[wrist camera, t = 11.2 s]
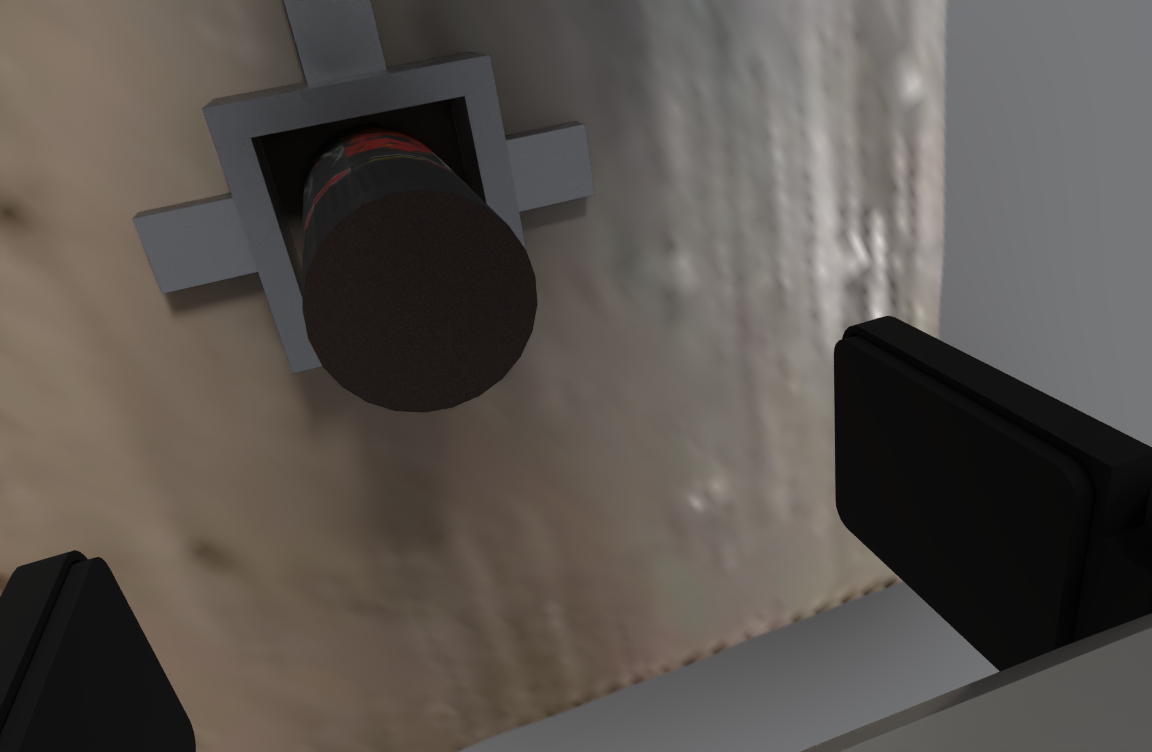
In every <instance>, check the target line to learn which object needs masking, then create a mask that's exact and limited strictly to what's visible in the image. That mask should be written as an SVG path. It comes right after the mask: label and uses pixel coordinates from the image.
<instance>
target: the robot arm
mask: <svg viewBox="0 0 1152 752" xmlns="http://www.w3.org/2000/svg"><path fill="white" fill-rule="evenodd" d="M834 400H835V486H836V507H837V511H838V514H839V516H840V519H841V520H842V522H843V524H844V525H845V526H846V527H847V529H848V530H849V531H850V532H852V533H853V534H854V535H855V536H856V537H857V538H858V539H859V540H860V541H861V542H862V543H863V544H864V545H865V546H866V547H868V548H869V549H870V550H871V551H872V552H873V553H874V554H875V555H876V556H877V557H878V558H879V559H880V560H881V561H882V562H884V563H885V564H886V565H887V566H888V567H889V568H890V569H891V570H892V571H893V572H894V573H895V574H896V575H897V576H899V577H900V578H901V579H902V580H903V581H904V582H905V583H906V584H907V585H908V586H909V587H910V588H911V589H912V590H913V591H915V592H916V593H917V594H918V595H919V596H920V597H921V598H922V599H923V600H924V601H925V602H926V603H928V605H929V606H931V607H932V608H933V609H934V610H935V611H936V612H937V613H938V614H939V615H941V617H942V618H943V619H944V620H945V621H947V622H948V623H949V624H950V625H951V626H952V627H953V628H954V629H955V630H956V631H957V632H958V633H959V634H960V635H962V636H963V637H964V638H965V639H966V640H967V641H968V642H969V643H970V644H971V645H972V646H973V647H974V648H975V649H976V650H978V651H979V652H980V653H981V654H982V655H983V656H984V657H985V658H986V659H987V660H988V661H989V662H990V663H991V664H993V665H994V666H995V667H996V668H997V669H998V670H999V671H1000V672H998V673H996V674H993V675H991V676H988V677H986V678H983V679H981V680H978V681H976V682H973V683H970V684H968V685H965V686H963V687H960V688H958V689H955V690H953V691H950V692H948V693H945V694H943V695H940V696H938V697H935V698H933V699H930V700H928V701H925V702H923V703H920V704H918V705H915V706H913V707H910V708H908V709H905V710H903V711H900V712H898V713H895V714H893V715H890V716H888V717H885V718H883V719H880V720H878V721H875V722H873V723H870V724H868V725H865V726H862V727H860V728H857V729H855V730H853V731H850V732H848V733H845V734H843V735H840V736H838V737H835V738H833V739H830V740H828V741H825V742H823V743H820V744H818V745H815V746H813V747H810V748H808V749H805V750H803V751H801V752H1152V447H1150V446H1148V445H1146V444H1144V443H1142V442H1140V441H1138V440H1136V439H1134V438H1132V437H1130V436H1128V435H1126V434H1124V433H1122V432H1120V431H1118V430H1116V429H1114V428H1112V427H1111V426H1109V425H1107V424H1105V423H1103V422H1100V421H1098V420H1097V419H1095V418H1092V417H1091V416H1089V415H1087V414H1085V413H1083V412H1081V411H1079V410H1077V409H1075V408H1073V407H1071V406H1069V405H1067V404H1065V403H1063V402H1061V401H1059V400H1057V399H1055V398H1053V397H1051V396H1049V395H1047V394H1045V393H1043V392H1041V391H1039V390H1037V389H1035V388H1033V387H1031V386H1029V385H1027V384H1025V383H1023V382H1021V381H1019V380H1017V379H1016V378H1014V377H1012V376H1010V375H1008V374H1005V373H1003V372H1002V371H1000V370H998V369H996V368H994V367H992V366H990V365H988V364H986V363H984V362H982V361H980V360H978V359H976V358H974V357H972V356H970V355H968V354H966V353H964V352H962V351H960V350H958V349H956V348H954V347H952V346H950V345H948V344H946V343H944V342H942V341H940V340H938V339H936V338H934V337H932V336H930V335H928V334H926V333H925V332H923V331H921V330H919V329H917V328H915V327H913V326H911V325H909V324H907V323H905V322H903V321H901V320H899V319H897V318H895V317H891V316H885V317H881V318H877V319H874V320H871V321H867V322H864V323H860V324H857V325H853V326H850V327H848V328H847V329H846V330H845V332H844V335H843V338H842V340H839V341H838V342H837V343H836V346H835V348H834ZM0 752H196V744H195V736H194V731H193V728H192V725H191V722H190V720H189V718H188V716H187V714H186V712H185V710H184V708H183V706H182V705H181V703H180V701H179V699H178V697H177V695H176V693H175V691H174V689H173V688H172V686H171V684H170V682H169V680H168V678H167V676H166V674H165V672H164V670H163V669H162V667H161V665H160V663H159V661H158V659H157V657H156V655H155V653H154V651H153V650H152V648H151V646H150V644H149V642H148V640H147V638H146V636H145V634H144V632H143V631H142V629H141V627H140V625H139V623H138V621H137V619H136V617H135V615H134V613H133V612H132V610H131V608H130V606H129V604H128V602H127V600H126V598H125V596H124V595H123V593H122V591H121V589H120V587H119V585H118V583H117V581H116V579H115V577H114V576H113V574H112V572H111V570H110V568H109V566H108V565H107V563H106V562H105V561H104V560H103V559H102V558H99V557H96V558H92V559H89V560H88V559H87V558H86V557H85V556H84V555H83V554H82V553H81V552H79V551H76V550H74V551H71V552H67V553H64V554H60V555H57V556H53V557H50V558H46V559H43V560H39V561H36V562H32V563H29V564H26V565H22V566H20V567H17V568H16V570H15V571H14V572H13V574H12V575H11V577H10V579H9V581H8V583H7V585H6V587H5V589H4V591H3V593H2V595H1V597H0Z"/></svg>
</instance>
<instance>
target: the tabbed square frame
mask: <svg viewBox="0 0 1152 752" xmlns="http://www.w3.org/2000/svg"><path fill="white" fill-rule="evenodd" d="M284 3H285V7H286V10H287V14H288V17H289V21H290V24H291V28H292V31H293V35H294V38H295V42H296V46H297V49H298V53H299V56H300V60H301V63H302V67H303V70H304V74H305V77H306V81H307V82H304V83H299V84H293V85H288V86H282V87H277V88H271V89H266V90H261V91H255V92H250V93H244V94H239V95H233V96H228V97H223V98H217V99H213V100H212V101H211V102H210V103H208V104H207V105H206V106H205V107H203V108H202V110H203V113H204V116H205V118H206V121H207V124H208V127H209V130H210V133H211V136H212V139H213V142H214V145H215V148H216V151H217V154H218V156H219V159H220V162H221V165H222V168H223V171H224V174H225V177H226V180H227V183H228V186H229V189H230V192H231V193H229V194H225V195H220V196H215V197H210V198H205V199H201V200H196V201H191V202H186V203H181V204H177V205H172V206H167V207H162V208H157V209H153V210H148V211H143V212H138V213H137V214H136V215H135V217H134V218H133V222H134V224H135V227H136V229H137V232H138V234H139V237H140V239H141V242H142V244H143V247H144V249H145V252H146V254H147V257H148V259H149V262H150V264H151V267H152V269H153V272H154V274H155V277H156V279H157V282H158V284H159V287H160V289H161V292H162V294H163V293H168V292H172V291H176V290H181V289H185V288H189V287H194V286H198V285H202V284H207V283H211V282H216V281H220V280H224V279H229V278H233V277H237V276H242V275H246V274H250V273H255V272H258V273H259V276H260V279H261V282H262V285H263V288H264V291H265V294H266V297H267V300H268V303H269V306H270V308H271V311H272V314H273V317H274V320H275V323H276V326H277V329H278V332H279V335H280V338H281V341H282V344H283V346H284V349H285V352H286V355H287V358H288V361H289V364H290V367H291V370H292V373H297V372H301V371H305V370H309V369H313V368H317V367H321V366H322V365H321V363H320V361H319V359H318V357H317V355H316V353H315V351H314V349H313V347H312V345H311V344H310V342H309V340H308V336H307V331H306V326H305V320H304V315H303V310H302V279H303V271H302V268H301V265H300V261H299V258H298V255H297V252H296V249H295V246H294V242H293V239H292V236H291V233H290V230H289V227H288V224H287V220H286V217H285V214H284V211H283V208H282V205H281V201H280V198H279V195H278V192H277V189H276V186H275V182H274V179H273V176H272V173H271V170H270V167H269V163H268V160H267V157H266V154H265V151H264V148H263V145H262V141H261V138H260V136H262V135H267V134H272V133H277V132H283V131H288V130H293V129H298V128H303V127H308V126H313V125H318V124H324V123H329V122H334V121H339V120H344V119H349V118H354V117H359V116H364V115H370V114H375V113H380V112H385V111H390V110H395V109H400V108H405V107H410V106H416V105H421V104H426V103H431V102H436V101H441V100H446V99H450V103H451V108H452V112H453V117H454V122H455V127H456V131H457V136H458V141H459V146H460V150H461V155H462V160H463V164H464V169H465V174H466V179H467V183H468V186H469V187H470V188H471V189H472V190H473V191H474V192H475V193H476V194H477V195H478V196H479V197H480V198H481V199H482V200H483V201H484V202H485V203H486V204H487V205H488V206H489V207H490V208H491V209H492V210H493V211H494V212H495V213H497V214H498V215H499V216H500V217H501V218H502V219H503V220H504V221H505V222H506V223H507V224H508V225H509V226H510V228H511V229H512V231H513V232H514V234H515V235H516V236H517V238H518V239H519V241H520V242H521V243H522V245H523V246H524V248H525V249H526V246H525V241H524V235H523V230H522V224H521V219H520V214H519V212H521V211H525V210H530V209H534V208H538V207H543V206H547V205H551V204H556V203H560V202H564V201H569V200H573V199H577V198H582V197H586V196H591V195H595V193H594V186H593V179H592V172H591V165H590V158H589V151H588V144H587V137H586V130H585V124H583V123H580V122H577V121H575V122H570V123H566V124H561V125H556V126H551V127H546V128H542V129H537V130H532V131H527V132H522V133H518V134H513V135H508V136H505V133H504V128H503V122H502V117H501V112H500V106H499V101H498V95H497V90H496V85H495V79H494V74H493V69H492V63H491V58H490V55H487V54H480V53H473V52H467V53H461V54H456V55H451V56H445V57H440V58H434V59H429V60H423V61H418V62H413V63H407V64H402V65H396V66H391V67H386V64H385V60H384V56H383V52H382V47H381V43H380V39H379V35H378V31H377V27H376V22H375V18H374V14H373V10H372V6H371V2H370V0H284ZM526 252H527V251H526ZM536 311H538V310H537V309H536Z"/></svg>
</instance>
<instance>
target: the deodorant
mask: <svg viewBox="0 0 1152 752" xmlns="http://www.w3.org/2000/svg"><path fill="white" fill-rule="evenodd" d="M536 309H537V292H536V280H535V274H534V271H533V269H532V266H531V263H530V260H529V257H528V254H527V252H526V249H525V248H524V246H523V245H522V243H521V242H520V241H519V239H518V238H517V236H516V235H515V234H514V232H513V231H512V229H511V228H510V226H509V225H508V224H507V223H506V222H505V221H504V220H503V219H502V218H501V217H500V216H499V215H498V214H497V213H495V212H494V211H493V210H492V209H491V208H490V207H489V206H488V205H487V204H486V203H485V202H484V201H483V200H482V199H481V198H480V197H479V196H478V195H477V194H476V193H475V192H474V191H473V190H472V189H471V188H470V187H469V186H468V185H467V184H466V183H465V182H464V181H463V180H462V179H461V178H460V177H458V176H457V175H456V174H455V173H454V172H453V171H452V170H451V169H450V168H449V167H448V166H447V165H446V164H445V163H444V162H443V161H442V160H441V159H440V158H439V157H438V156H437V155H436V154H435V153H434V152H433V151H432V150H431V149H430V148H429V147H428V146H426V145H425V144H424V143H423V142H421V141H420V140H419V139H418V138H417V137H415V136H414V135H413V134H410V133H408V132H406V131H404V130H402V129H400V128H398V127H395V126H390V125H384V124H378V123H372V124H361V125H355V126H352V127H350V128H347V129H345V130H342V131H339V132H338V133H336V134H335V135H334V136H332V137H331V138H330V139H328V140H327V141H325V142H324V143H323V144H322V145H321V147H320V148H319V149H318V151H317V152H316V153H315V155H314V156H313V157H312V158H311V161H310V163H309V166H308V169H307V171H306V174H305V177H304V188H303V279H302V310H303V315H304V320H305V326H306V331H307V336H308V340H309V342H310V344H311V345H312V347H313V349H314V351H315V353H316V355H317V357H318V359H319V361H320V363H321V365H322V366H323V367H324V368H325V369H326V370H327V371H328V372H329V373H330V374H331V376H332V377H333V378H334V379H335V380H336V381H337V382H338V383H339V384H340V385H341V386H342V387H343V388H345V389H347V390H348V391H350V392H352V393H353V394H355V395H356V396H358V397H360V398H361V399H363V400H365V401H366V402H368V403H372V404H375V405H378V406H381V407H385V408H388V409H391V410H394V411H408V412H430V411H435V410H441V409H446V408H452V407H455V406H457V405H459V404H462V403H464V402H466V401H469V400H471V399H473V398H476V397H478V396H480V395H481V394H483V393H484V392H485V391H487V390H488V389H489V388H491V387H492V386H493V385H495V384H496V383H497V382H499V381H500V380H501V379H502V378H503V377H504V376H505V375H506V374H507V372H508V371H509V370H510V369H511V368H512V366H513V365H514V364H515V363H516V362H517V360H518V359H519V358H520V356H521V354H522V352H523V350H524V348H525V346H526V344H527V342H528V340H529V337H530V335H531V333H532V330H533V325H534V320H535V314H536Z"/></svg>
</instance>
